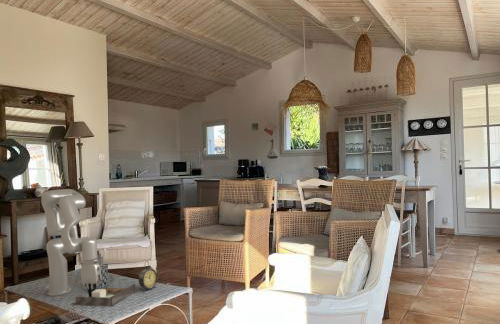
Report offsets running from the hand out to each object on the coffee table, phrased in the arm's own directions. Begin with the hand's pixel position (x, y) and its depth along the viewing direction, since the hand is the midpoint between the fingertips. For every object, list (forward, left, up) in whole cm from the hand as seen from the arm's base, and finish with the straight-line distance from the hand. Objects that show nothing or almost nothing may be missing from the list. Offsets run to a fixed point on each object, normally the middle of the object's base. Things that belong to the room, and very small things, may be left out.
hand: (91, 296), depth 206 cm
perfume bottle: (-26, +39, -3) cm, 47 cm away
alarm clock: (+21, +21, -3) cm, 30 cm away
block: (+5, -1, -1) cm, 5 cm away
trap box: (+5, +5, -3) cm, 8 cm away
